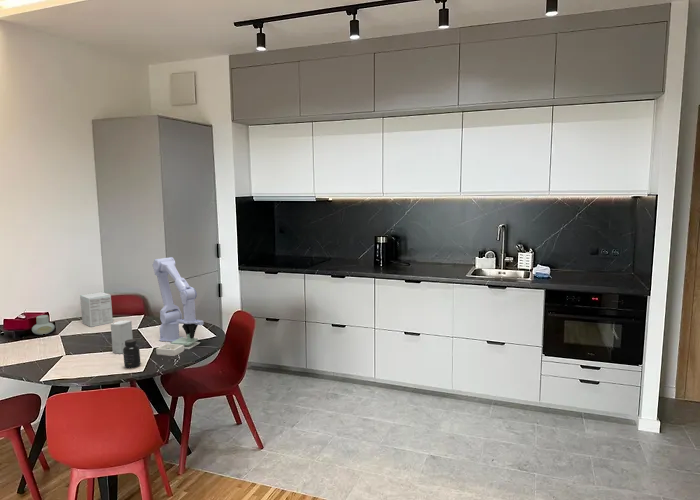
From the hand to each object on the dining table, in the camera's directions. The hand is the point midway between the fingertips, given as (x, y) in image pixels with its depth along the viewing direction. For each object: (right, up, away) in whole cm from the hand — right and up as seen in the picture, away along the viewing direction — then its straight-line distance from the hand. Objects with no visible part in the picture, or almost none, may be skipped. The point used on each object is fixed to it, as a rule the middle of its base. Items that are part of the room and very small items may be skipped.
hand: (190, 337), depth 250 cm
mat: (-4, -4, +2) cm, 6 cm away
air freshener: (-91, -2, +25) cm, 95 cm away
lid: (-4, -3, +1) cm, 5 cm away
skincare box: (-32, -6, -7) cm, 33 cm away
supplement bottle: (-18, -8, -28) cm, 34 cm away
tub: (-7, -6, -10) cm, 13 cm away
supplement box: (-72, 0, +46) cm, 85 cm away
